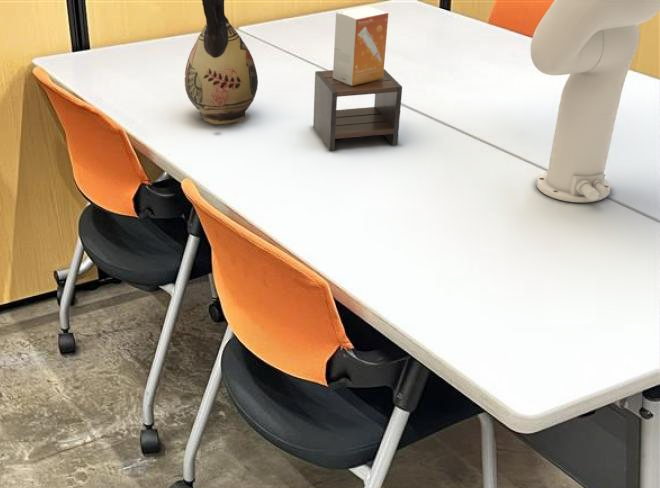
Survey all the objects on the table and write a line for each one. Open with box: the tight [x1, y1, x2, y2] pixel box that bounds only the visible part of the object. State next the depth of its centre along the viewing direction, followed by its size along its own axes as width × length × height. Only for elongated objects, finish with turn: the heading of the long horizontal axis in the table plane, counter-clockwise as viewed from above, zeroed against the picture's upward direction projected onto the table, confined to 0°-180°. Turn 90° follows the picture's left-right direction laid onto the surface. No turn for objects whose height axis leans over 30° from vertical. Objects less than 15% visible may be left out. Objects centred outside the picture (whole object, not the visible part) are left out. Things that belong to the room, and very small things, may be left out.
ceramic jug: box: [184, 0, 259, 126], centre depth 203 cm, size 17×15×30 cm
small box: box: [332, 5, 389, 86], centre depth 190 cm, size 8×6×13 cm
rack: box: [312, 68, 403, 152], centre depth 197 cm, size 13×14×12 cm
